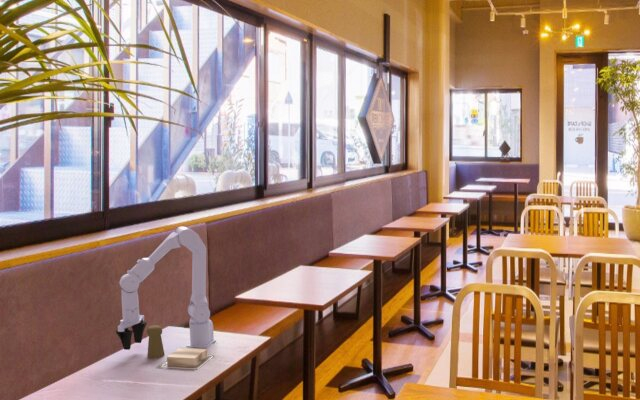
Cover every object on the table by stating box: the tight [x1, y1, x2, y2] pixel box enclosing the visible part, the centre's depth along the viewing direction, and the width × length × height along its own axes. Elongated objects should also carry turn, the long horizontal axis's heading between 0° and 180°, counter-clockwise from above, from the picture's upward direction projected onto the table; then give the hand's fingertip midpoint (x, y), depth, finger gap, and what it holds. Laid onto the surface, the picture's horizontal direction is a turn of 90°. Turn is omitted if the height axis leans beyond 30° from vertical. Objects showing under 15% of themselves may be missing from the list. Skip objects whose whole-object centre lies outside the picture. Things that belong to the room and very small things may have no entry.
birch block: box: [166, 347, 208, 367], centre depth 227 cm, size 10×10×3 cm
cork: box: [146, 324, 165, 359], centre depth 234 cm, size 6×6×11 cm
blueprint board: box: [155, 354, 215, 372], centre depth 228 cm, size 16×15×1 cm
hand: (132, 345), depth 237 cm, fingers open, 7 cm apart
